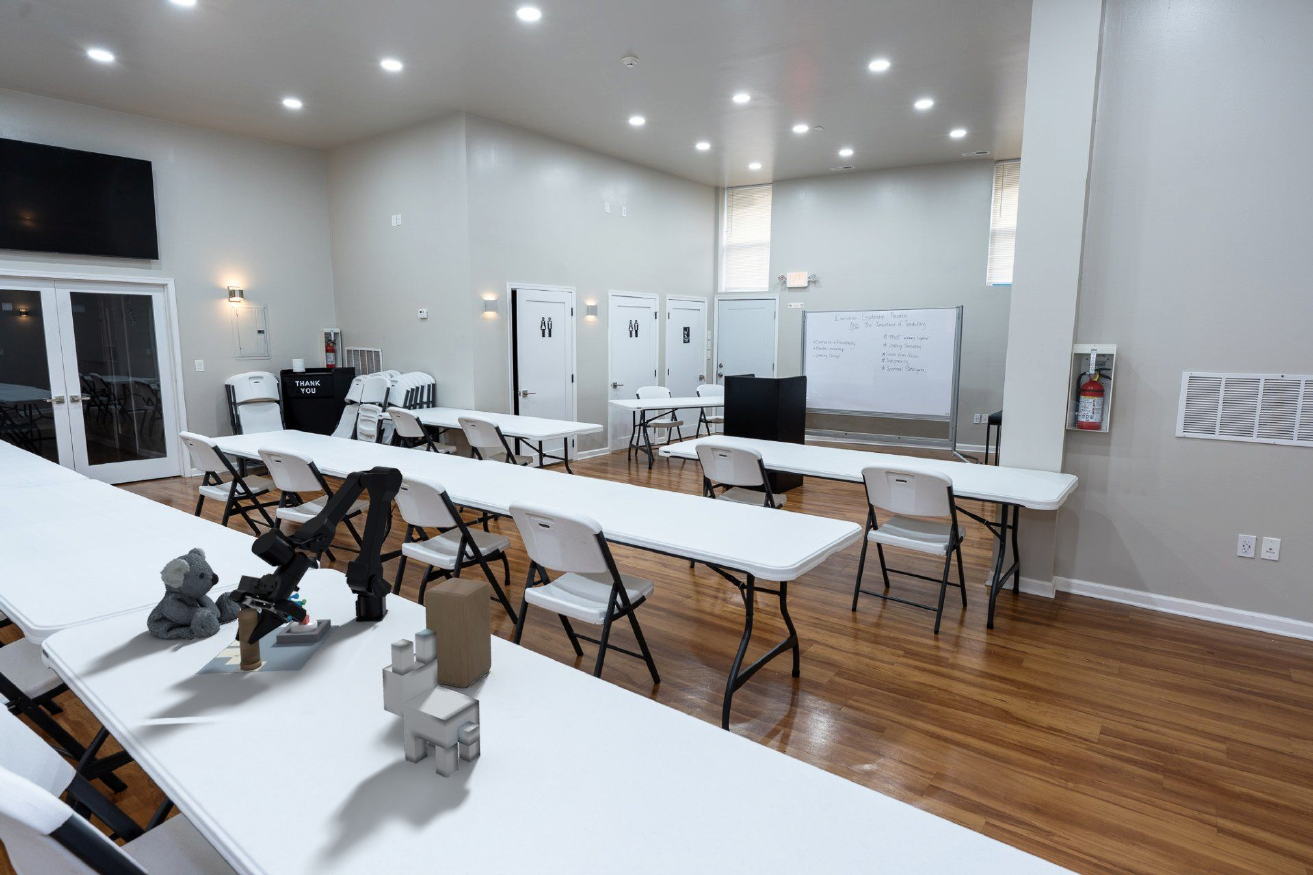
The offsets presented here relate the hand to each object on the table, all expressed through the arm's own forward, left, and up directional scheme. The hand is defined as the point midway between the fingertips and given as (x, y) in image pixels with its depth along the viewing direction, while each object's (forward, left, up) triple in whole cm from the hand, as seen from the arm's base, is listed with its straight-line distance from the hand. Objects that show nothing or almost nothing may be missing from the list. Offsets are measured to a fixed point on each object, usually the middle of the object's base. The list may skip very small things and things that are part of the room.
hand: (243, 642), depth 144 cm
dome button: (-6, -17, -6) cm, 19 cm away
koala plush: (+24, -26, -7) cm, 36 cm away
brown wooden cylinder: (-1, -1, -6) cm, 6 cm away
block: (-46, +5, -7) cm, 47 cm away
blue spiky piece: (+5, -31, -7) cm, 32 cm away
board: (-1, -11, -7) cm, 13 cm away
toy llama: (-47, +34, -7) cm, 58 cm away
